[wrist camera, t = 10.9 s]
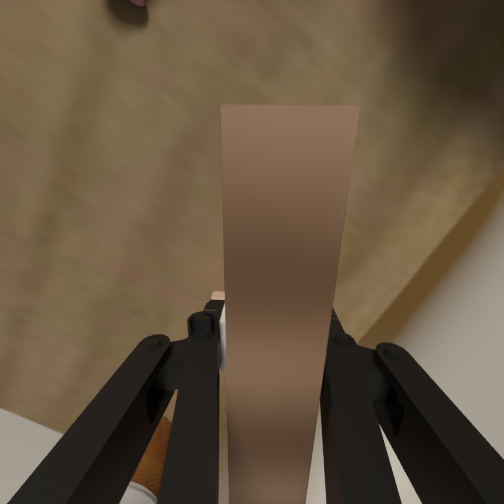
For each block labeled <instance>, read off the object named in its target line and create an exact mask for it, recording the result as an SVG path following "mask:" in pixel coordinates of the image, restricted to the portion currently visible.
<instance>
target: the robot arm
mask: <svg viewBox="0 0 504 504" xmlns="http://www.w3.org/2000/svg"><path fill="white" fill-rule="evenodd" d="M187 323H188V338H186V339H183V340H179V341H174V342H170V339H169V337H167V336H166V335H162V334H156V335H152V336H149V337H147V338H145V339H143V340H142V341H141V342H140V343H139V344H138V345H137V346H136V348H135V349H134V350H133V351H132V352H131V354H130V355H129V356H128V357H127V359H126V360H125V361H124V362H123V363H122V365H121V366H120V367H119V368H118V370H117V371H116V372H115V373H114V374H113V376H112V377H111V378H110V379H109V380H108V382H107V383H106V384H105V385H104V387H103V388H102V389H101V390H100V391H99V393H98V394H97V395H96V396H95V397H94V399H93V400H92V401H91V402H90V404H89V405H88V406H87V407H86V408H85V410H84V411H83V412H82V413H81V414H80V416H79V417H78V418H77V419H76V421H75V422H74V423H73V424H72V425H71V427H70V428H69V429H68V430H67V432H66V433H65V434H64V435H63V436H62V438H61V439H60V440H59V441H58V442H57V444H56V445H55V446H54V447H53V449H52V450H51V451H50V452H49V453H48V455H47V456H46V457H45V458H44V459H43V461H42V462H41V463H40V464H39V466H38V467H37V468H36V469H35V471H34V472H33V473H32V474H31V475H30V476H29V478H28V479H27V480H26V481H25V483H24V484H23V485H22V486H21V488H20V489H19V490H18V491H17V492H16V493H15V495H14V496H13V497H12V498H11V500H10V501H9V502H8V503H7V504H119V503H120V501H121V499H122V497H123V495H124V493H125V491H126V489H127V487H128V485H129V483H130V481H131V479H132V477H133V475H134V473H135V471H136V469H137V467H138V465H139V463H140V461H141V459H142V457H143V455H144V453H145V451H146V449H147V447H148V445H149V443H150V441H151V439H152V436H153V434H154V432H155V430H156V428H157V426H158V424H159V422H160V420H161V418H162V416H163V414H164V412H165V410H166V408H167V406H168V404H169V402H170V400H171V398H172V396H173V394H174V391H175V390H176V389H178V394H177V399H176V404H175V410H174V415H173V420H172V425H171V431H170V436H169V441H168V447H167V452H166V457H165V462H164V468H163V473H162V478H161V484H160V489H159V494H158V499H157V504H218V494H219V492H218V491H219V488H218V487H219V370H220V365H221V372H226V332H225V300H214V299H211V300H210V301H209V302H208V303H207V304H206V305H205V308H204V310H203V311H201V312H197V313H194V314H192V315H191V316H189V318H188V320H187ZM320 408H321V423H322V440H323V456H324V472H325V487H326V504H402V503H401V500H400V496H399V492H398V489H397V485H396V482H395V478H394V475H393V471H392V468H391V464H390V461H389V457H388V454H387V451H386V447H385V443H384V440H383V436H382V433H381V429H380V426H381V427H382V430H383V431H384V433H385V435H386V437H387V439H388V441H389V443H390V444H391V446H392V448H393V450H394V452H395V454H396V456H397V458H398V460H399V461H400V463H401V465H402V467H403V469H404V471H405V472H406V474H407V476H408V478H409V480H410V482H411V483H412V485H413V487H414V489H415V491H416V493H417V495H418V497H419V498H420V501H421V502H422V504H504V459H503V458H502V457H501V456H500V455H499V454H498V453H497V451H496V450H495V449H494V448H493V447H492V446H491V445H490V444H489V443H488V442H487V440H486V439H485V438H484V437H483V436H482V435H481V434H480V432H479V431H478V430H477V429H476V428H475V427H474V426H473V425H472V423H471V422H470V421H469V420H468V419H467V418H466V417H465V416H464V415H463V413H462V412H461V411H460V410H459V409H458V408H457V407H456V405H455V404H454V403H453V402H452V401H451V400H450V399H449V398H448V396H447V395H446V394H445V393H444V392H443V391H442V390H441V389H440V388H439V386H438V385H437V384H436V383H435V382H434V381H433V380H432V379H431V377H429V375H428V374H427V373H426V372H425V371H424V370H423V368H422V367H421V366H420V365H419V364H418V363H417V362H416V361H415V359H414V358H413V357H412V356H411V355H410V354H409V353H408V352H407V351H406V350H405V349H403V348H402V347H400V346H398V345H395V344H392V343H385V342H384V343H380V344H378V345H377V346H376V350H373V349H369V348H365V347H362V346H359V345H357V344H356V342H355V340H354V338H352V337H351V336H350V335H348V334H346V333H345V332H344V330H343V328H342V326H341V323H340V321H339V319H338V317H337V315H336V313H335V311H334V309H333V307H332V314H331V321H330V328H329V336H328V343H327V350H326V357H325V365H324V372H323V379H322V386H321V394H320ZM379 424H380V426H379Z"/></svg>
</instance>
